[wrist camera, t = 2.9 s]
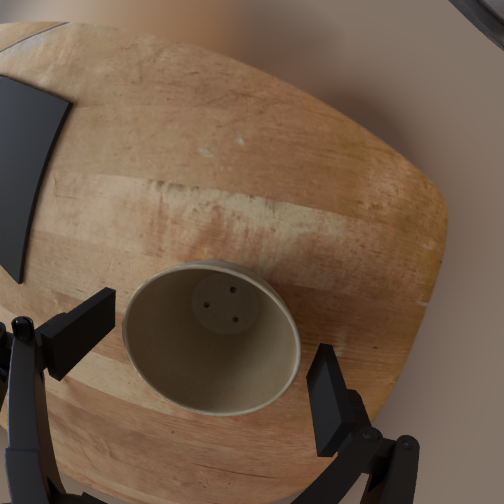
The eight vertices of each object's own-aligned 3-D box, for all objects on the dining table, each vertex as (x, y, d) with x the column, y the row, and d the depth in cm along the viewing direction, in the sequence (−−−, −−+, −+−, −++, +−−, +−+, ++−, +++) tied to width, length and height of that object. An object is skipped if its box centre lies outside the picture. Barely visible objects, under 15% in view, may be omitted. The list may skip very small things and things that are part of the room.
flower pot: (228, 375, 22) (213, 435, 15) (142, 295, 21) (96, 337, 14) (320, 306, 20) (339, 361, 13) (227, 207, 19) (200, 220, 12)
